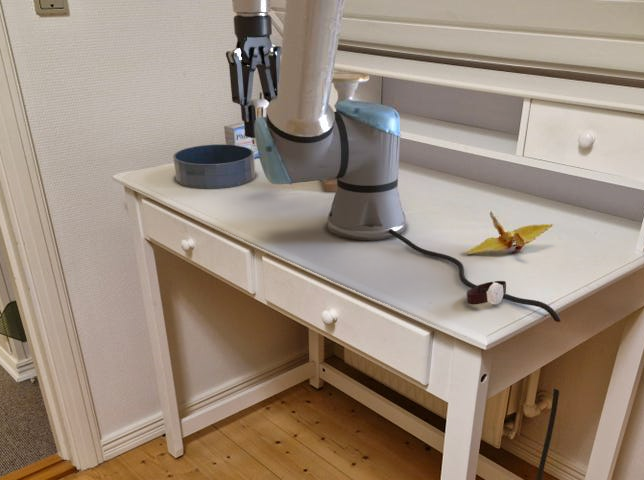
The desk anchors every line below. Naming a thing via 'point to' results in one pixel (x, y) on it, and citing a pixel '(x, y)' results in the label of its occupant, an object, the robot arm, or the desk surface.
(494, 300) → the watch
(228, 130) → the medicine box
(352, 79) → the candle holder
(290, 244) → the desk surface
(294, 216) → the desk surface
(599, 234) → the desk surface
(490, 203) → the desk surface
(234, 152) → the bowl
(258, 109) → the milkshake
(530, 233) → the origami crane
